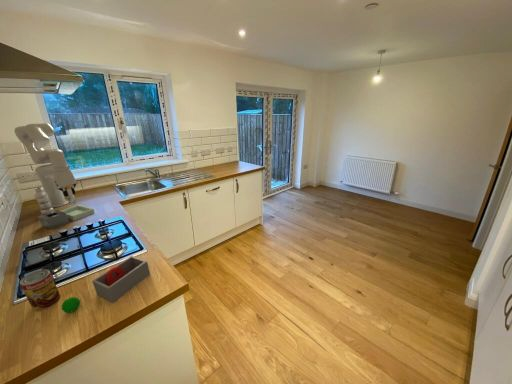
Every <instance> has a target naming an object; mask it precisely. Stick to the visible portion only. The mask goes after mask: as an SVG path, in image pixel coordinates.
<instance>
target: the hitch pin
mask: <svg viewBox="0 0 512 384" xmlns="http://www.w3.org/2000/svg"><path fill="white" fill-rule="evenodd" d="M71 187H72V185H69V186H65V191H67V194H68V197H66V198H67V200H68V204H69V205H75V204H77V202H76V198H75V196H74V194H73V192H72V189H71Z"/></svg>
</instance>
